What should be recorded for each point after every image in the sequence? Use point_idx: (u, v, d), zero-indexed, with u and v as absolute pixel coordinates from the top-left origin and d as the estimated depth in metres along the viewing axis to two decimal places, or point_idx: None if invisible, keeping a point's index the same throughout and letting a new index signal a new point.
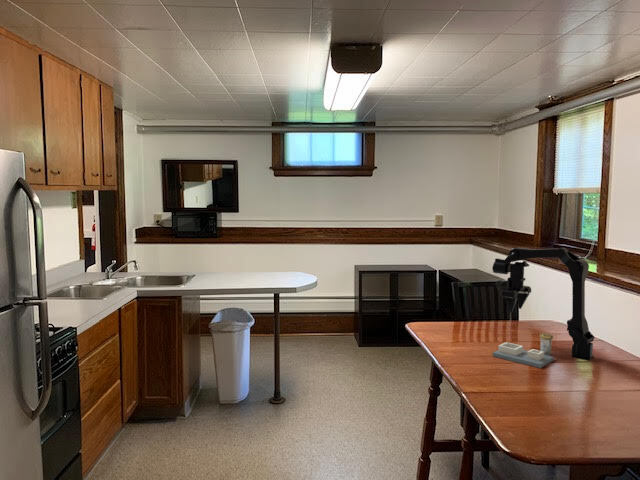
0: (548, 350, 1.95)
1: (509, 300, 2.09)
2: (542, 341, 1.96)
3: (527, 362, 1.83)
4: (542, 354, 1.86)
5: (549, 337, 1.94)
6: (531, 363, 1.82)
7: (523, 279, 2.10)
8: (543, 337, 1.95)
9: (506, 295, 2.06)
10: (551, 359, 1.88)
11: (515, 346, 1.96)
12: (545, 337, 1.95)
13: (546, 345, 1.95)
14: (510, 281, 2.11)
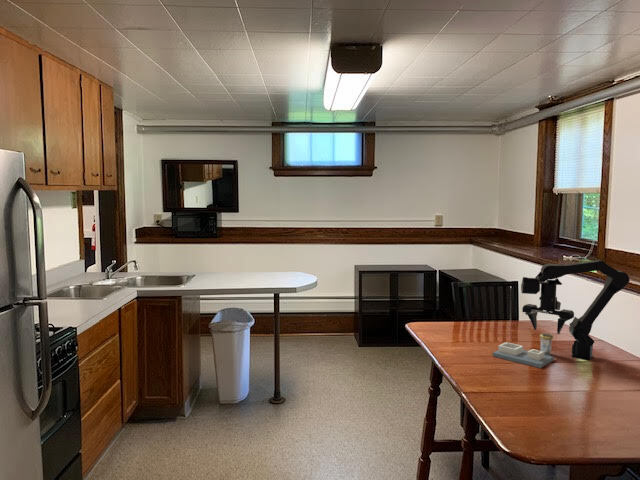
0: (548, 350, 1.95)
1: None
2: (542, 341, 1.96)
3: (527, 362, 1.83)
4: (542, 354, 1.86)
5: (549, 337, 1.94)
6: (531, 363, 1.82)
7: (547, 299, 1.93)
8: (543, 337, 1.95)
9: None
10: (551, 359, 1.88)
11: (515, 346, 1.96)
12: (545, 337, 1.95)
13: (546, 345, 1.95)
14: None
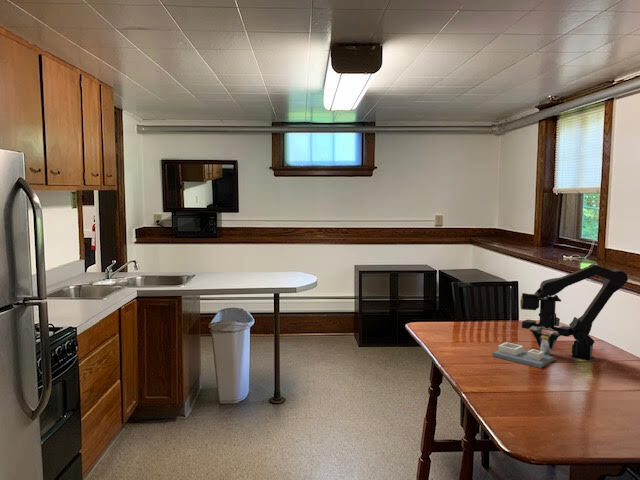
0: (548, 350, 1.95)
1: None
2: (542, 341, 1.96)
3: (527, 362, 1.83)
4: (542, 354, 1.86)
5: (549, 337, 1.94)
6: (531, 363, 1.82)
7: (546, 315, 1.94)
8: (543, 337, 1.95)
9: None
10: (551, 359, 1.88)
11: (515, 346, 1.96)
12: (545, 337, 1.95)
13: (546, 345, 1.95)
14: None
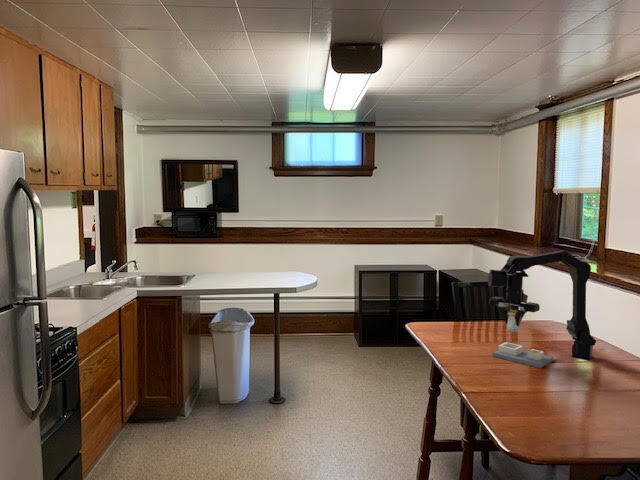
0: (514, 327, 1.92)
1: None
2: (509, 317, 1.93)
3: (527, 362, 1.83)
4: (542, 354, 1.86)
5: (516, 313, 1.91)
6: (531, 363, 1.82)
7: (513, 291, 1.90)
8: (510, 313, 1.92)
9: None
10: (551, 359, 1.88)
11: (515, 346, 1.96)
12: (512, 313, 1.92)
13: (513, 321, 1.92)
14: None
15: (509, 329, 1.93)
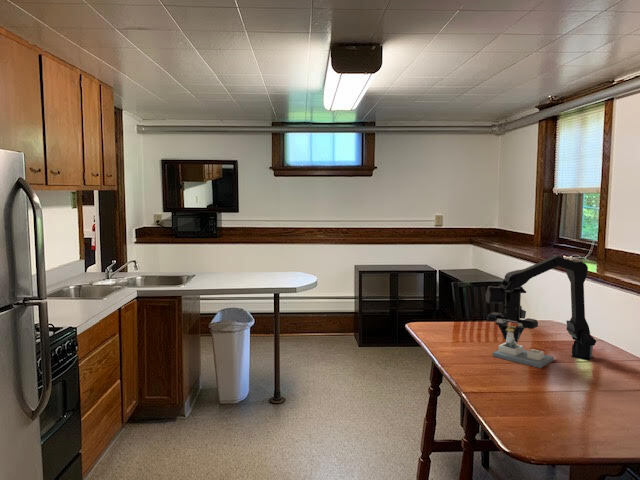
0: (513, 343, 1.93)
1: None
2: (507, 334, 1.93)
3: (527, 362, 1.83)
4: (542, 354, 1.86)
5: (514, 329, 1.92)
6: (531, 363, 1.82)
7: (511, 308, 1.91)
8: (508, 329, 1.92)
9: None
10: (551, 359, 1.88)
11: None
12: (510, 329, 1.92)
13: (512, 337, 1.92)
14: None
15: (508, 345, 1.93)
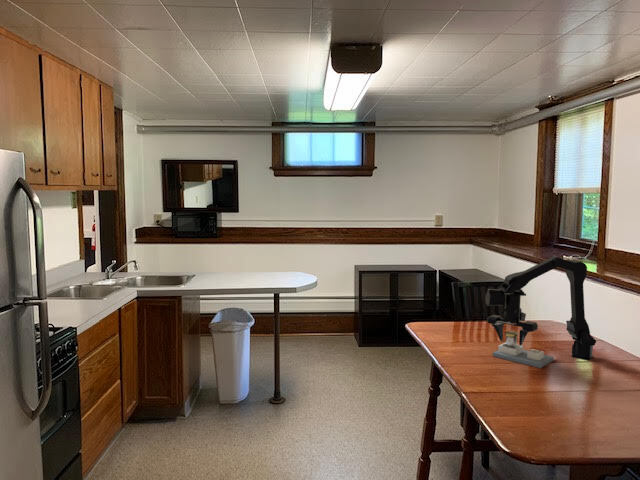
0: (513, 348, 1.93)
1: None
2: (507, 339, 1.94)
3: (527, 362, 1.83)
4: (542, 354, 1.86)
5: (514, 335, 1.92)
6: (531, 363, 1.82)
7: (511, 310, 1.91)
8: (508, 335, 1.93)
9: None
10: (551, 359, 1.88)
11: None
12: (510, 335, 1.92)
13: (511, 343, 1.93)
14: None
15: None
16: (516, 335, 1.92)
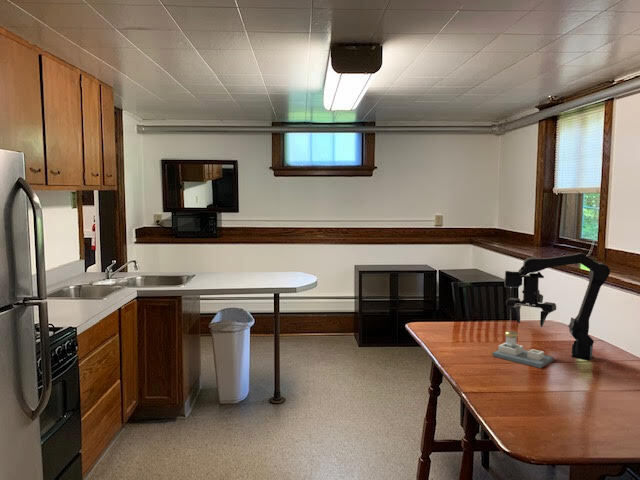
0: (513, 348, 1.93)
1: None
2: (507, 339, 1.94)
3: (527, 362, 1.83)
4: (542, 354, 1.86)
5: (514, 335, 1.92)
6: (531, 363, 1.82)
7: (530, 292, 1.95)
8: (508, 335, 1.93)
9: None
10: (551, 359, 1.88)
11: None
12: (510, 335, 1.92)
13: (511, 343, 1.93)
14: None
15: None
16: (516, 335, 1.92)
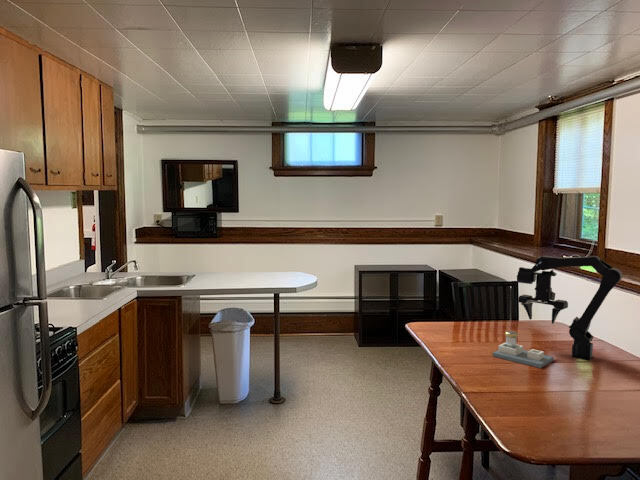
0: (513, 348, 1.93)
1: None
2: (507, 339, 1.94)
3: (527, 362, 1.83)
4: (542, 354, 1.86)
5: (514, 335, 1.92)
6: (531, 363, 1.82)
7: (542, 289, 1.99)
8: (508, 335, 1.93)
9: None
10: (551, 359, 1.88)
11: None
12: (510, 335, 1.92)
13: (511, 343, 1.93)
14: None
15: None
16: (516, 335, 1.92)
